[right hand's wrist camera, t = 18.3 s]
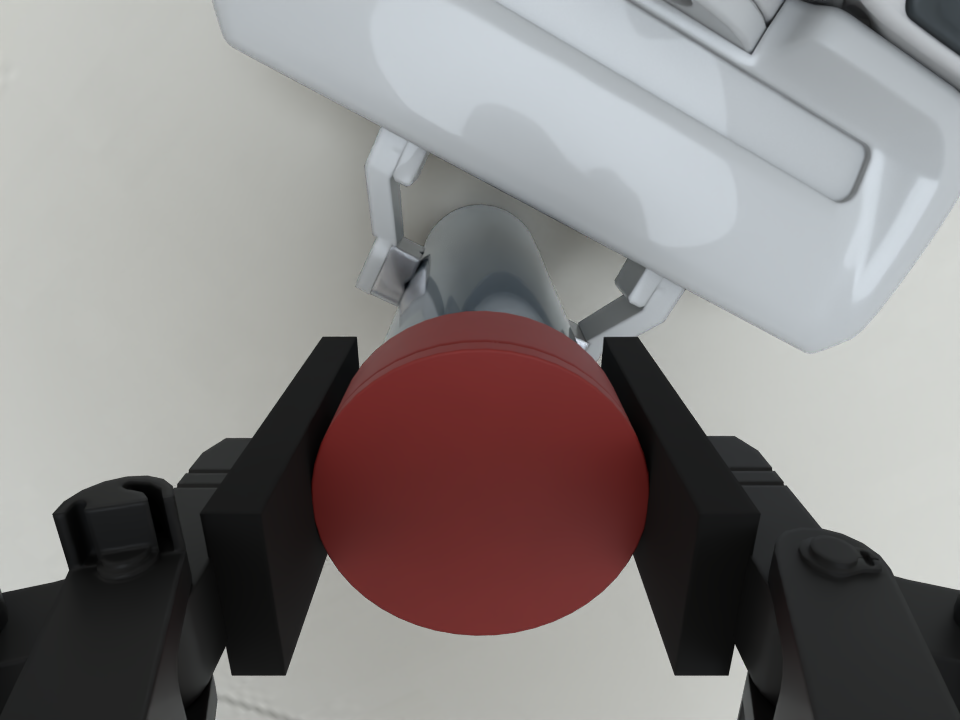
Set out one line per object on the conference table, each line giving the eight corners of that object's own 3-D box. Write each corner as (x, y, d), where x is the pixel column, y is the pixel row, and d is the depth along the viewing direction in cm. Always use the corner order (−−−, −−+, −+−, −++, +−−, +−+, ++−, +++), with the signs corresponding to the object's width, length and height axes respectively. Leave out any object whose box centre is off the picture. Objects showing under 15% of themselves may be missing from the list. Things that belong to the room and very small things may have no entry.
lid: (279, 392, 12) (241, 446, 10) (547, 254, 11) (561, 284, 9) (427, 599, 13) (419, 676, 12) (667, 496, 12) (700, 563, 11)
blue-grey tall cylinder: (552, 221, 26) (661, 385, 10) (520, 330, 27) (573, 611, 12) (435, 191, 25) (366, 316, 10) (411, 304, 27) (319, 561, 12)
